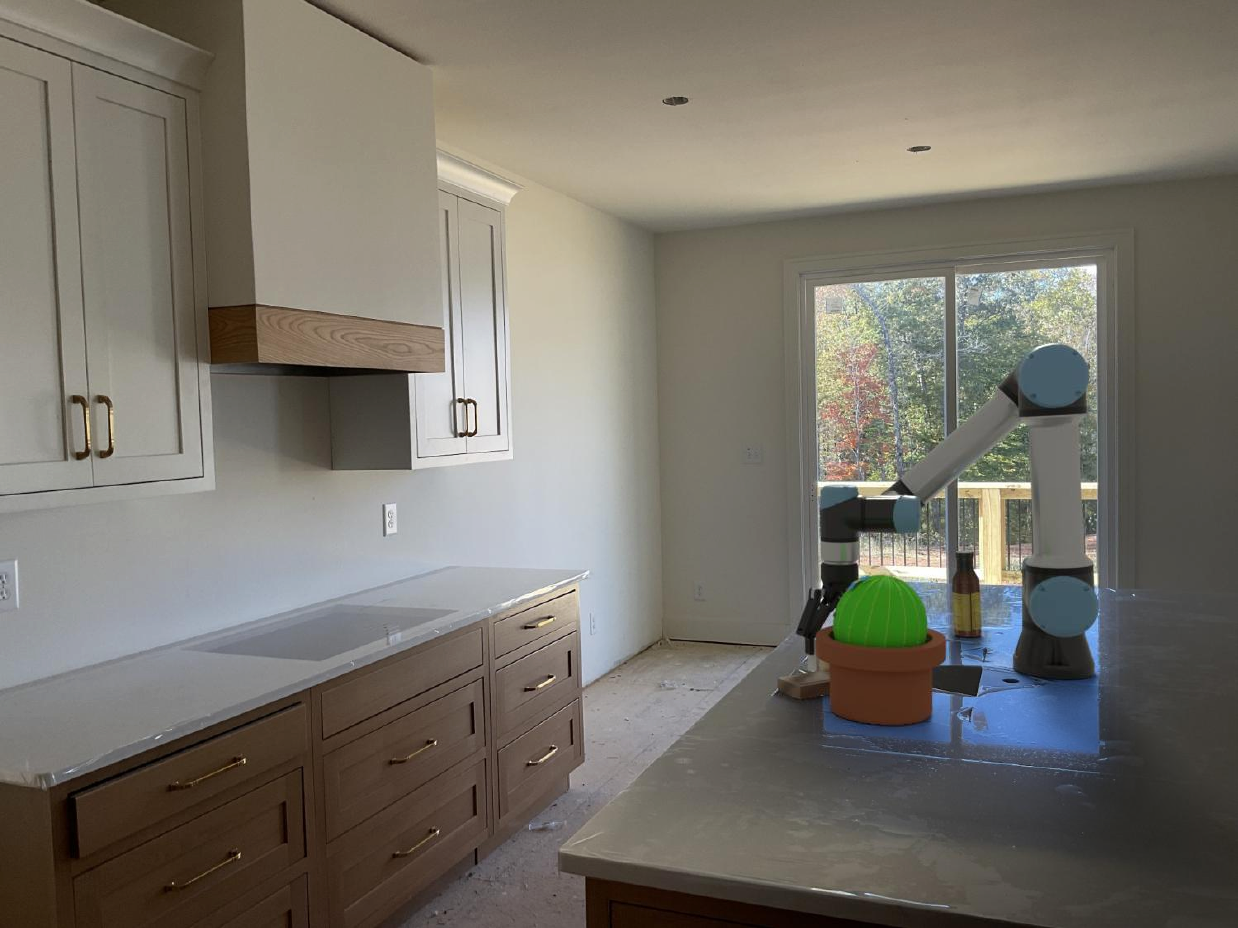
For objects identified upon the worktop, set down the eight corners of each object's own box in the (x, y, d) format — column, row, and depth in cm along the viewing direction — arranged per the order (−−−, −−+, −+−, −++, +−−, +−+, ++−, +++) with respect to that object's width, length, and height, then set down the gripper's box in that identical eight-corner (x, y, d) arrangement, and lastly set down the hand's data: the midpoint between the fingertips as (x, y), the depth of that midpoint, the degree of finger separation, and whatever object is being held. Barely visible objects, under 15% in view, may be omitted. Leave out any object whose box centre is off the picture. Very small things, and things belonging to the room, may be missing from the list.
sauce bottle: (977, 632, 230) (977, 549, 229) (985, 638, 224) (984, 552, 223) (949, 632, 231) (949, 549, 230) (956, 638, 225) (955, 553, 224)
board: (891, 682, 189) (891, 669, 189) (800, 700, 179) (800, 686, 179) (867, 674, 195) (866, 662, 195) (777, 690, 185) (777, 677, 185)
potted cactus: (957, 702, 175) (957, 565, 174) (929, 738, 157) (928, 585, 155) (839, 687, 187) (838, 558, 185) (799, 719, 168) (797, 576, 166)
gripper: (874, 554, 204) (875, 653, 205) (777, 564, 193) (779, 670, 194) (899, 558, 198) (900, 661, 199) (801, 569, 186) (802, 678, 187)
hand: (840, 665), depth 196 cm, fingers open, 13 cm apart
